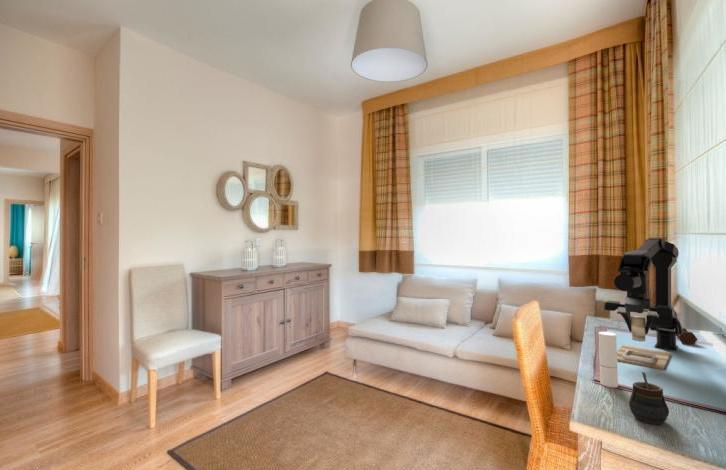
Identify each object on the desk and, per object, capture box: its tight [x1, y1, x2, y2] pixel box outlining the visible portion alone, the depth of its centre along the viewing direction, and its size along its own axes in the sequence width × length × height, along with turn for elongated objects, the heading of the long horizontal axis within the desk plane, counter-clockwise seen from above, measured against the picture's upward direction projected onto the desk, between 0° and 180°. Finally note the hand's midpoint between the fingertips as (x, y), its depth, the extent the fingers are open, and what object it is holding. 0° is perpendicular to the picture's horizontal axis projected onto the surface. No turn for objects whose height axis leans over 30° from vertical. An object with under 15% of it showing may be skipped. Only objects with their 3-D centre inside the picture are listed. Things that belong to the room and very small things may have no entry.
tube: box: [598, 331, 619, 388], centre depth 102 cm, size 4×4×15 cm
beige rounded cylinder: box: [630, 315, 647, 342], centre depth 121 cm, size 4×4×8 cm
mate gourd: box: [628, 371, 670, 425], centre depth 83 cm, size 7×8×10 cm
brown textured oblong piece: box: [676, 327, 698, 346], centre depth 144 cm, size 6×5×15 cm
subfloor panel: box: [617, 344, 672, 371], centre depth 124 cm, size 20×14×1 cm
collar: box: [622, 350, 656, 364], centre depth 121 cm, size 8×8×1 cm
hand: (638, 332), depth 121 cm, fingers closed on beige rounded cylinder, 4 cm apart
